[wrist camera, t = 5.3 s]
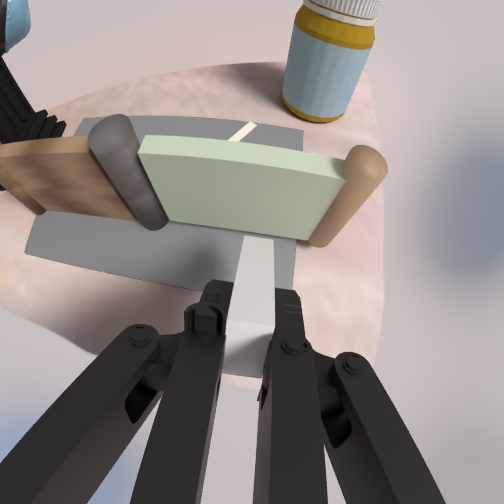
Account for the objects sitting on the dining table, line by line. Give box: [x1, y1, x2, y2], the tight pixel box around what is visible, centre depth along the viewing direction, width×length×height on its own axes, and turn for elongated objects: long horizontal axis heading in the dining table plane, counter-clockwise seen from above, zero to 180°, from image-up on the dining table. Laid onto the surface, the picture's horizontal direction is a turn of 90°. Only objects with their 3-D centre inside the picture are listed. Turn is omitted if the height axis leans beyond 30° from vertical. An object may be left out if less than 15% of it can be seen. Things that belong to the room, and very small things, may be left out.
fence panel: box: [138, 135, 388, 248], centre depth 16 cm, size 12×2×9 cm, turn 82°
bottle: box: [281, 0, 384, 122], centre depth 19 cm, size 7×7×15 cm
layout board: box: [24, 116, 303, 291], centre depth 22 cm, size 24×16×1 cm, turn 82°
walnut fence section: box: [0, 114, 169, 231], centre depth 16 cm, size 15×2×10 cm, turn 82°
